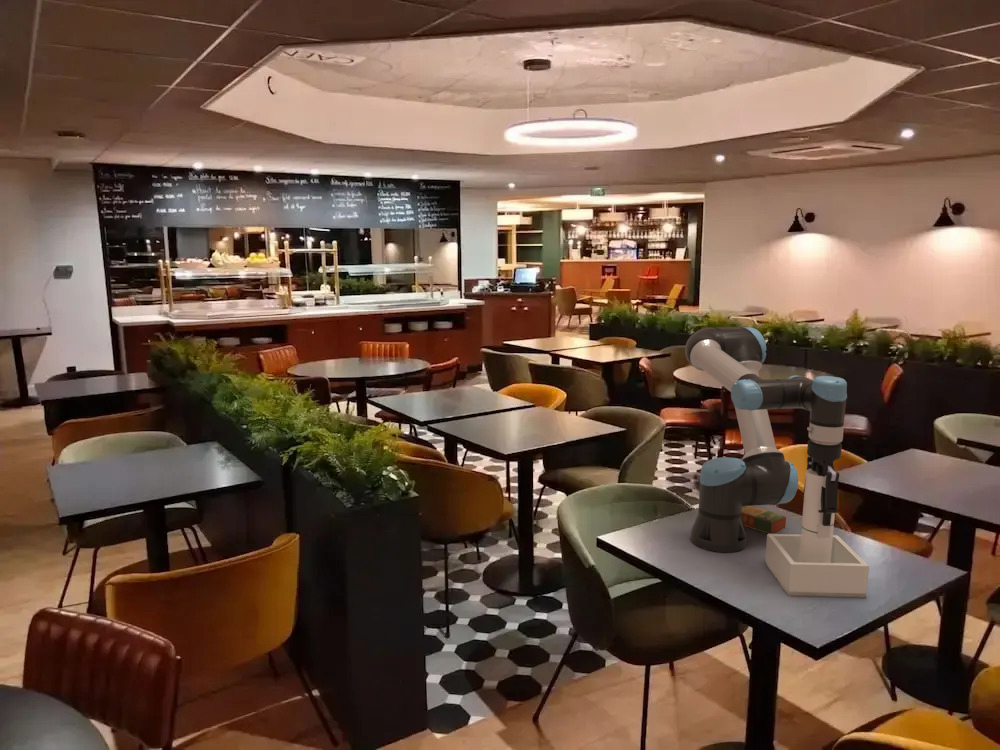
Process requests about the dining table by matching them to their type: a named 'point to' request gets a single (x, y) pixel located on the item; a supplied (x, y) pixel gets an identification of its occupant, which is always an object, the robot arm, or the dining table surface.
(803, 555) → the cylindrical container
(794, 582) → the beige bin
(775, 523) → the carton
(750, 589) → the dining table surface
